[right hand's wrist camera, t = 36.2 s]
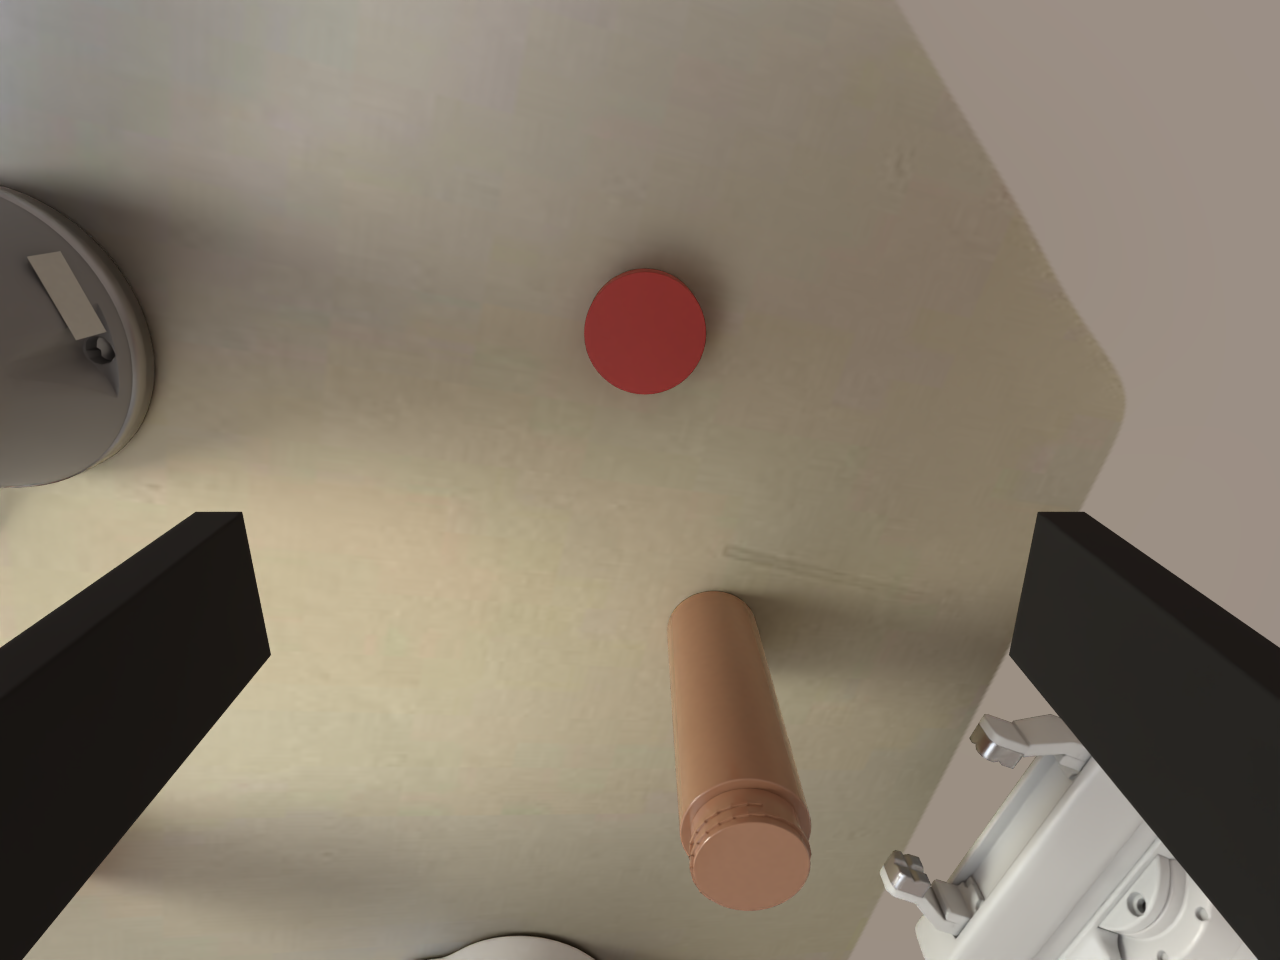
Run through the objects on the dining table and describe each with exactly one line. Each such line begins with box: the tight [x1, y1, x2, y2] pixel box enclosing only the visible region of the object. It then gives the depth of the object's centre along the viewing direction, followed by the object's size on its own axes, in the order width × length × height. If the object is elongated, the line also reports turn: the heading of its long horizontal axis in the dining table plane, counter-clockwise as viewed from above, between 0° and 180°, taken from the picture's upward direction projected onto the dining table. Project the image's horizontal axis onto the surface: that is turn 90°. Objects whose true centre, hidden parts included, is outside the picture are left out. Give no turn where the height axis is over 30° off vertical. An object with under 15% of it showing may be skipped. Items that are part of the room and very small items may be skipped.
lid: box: [584, 269, 706, 394], centre depth 38 cm, size 6×6×2 cm
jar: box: [667, 591, 811, 911], centre depth 37 cm, size 5×5×17 cm
